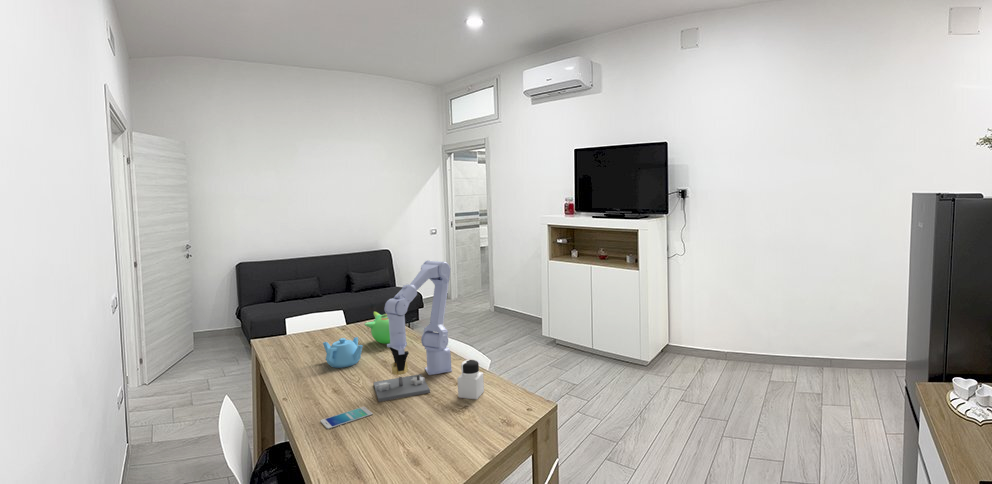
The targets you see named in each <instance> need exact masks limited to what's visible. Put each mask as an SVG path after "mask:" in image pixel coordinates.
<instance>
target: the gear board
mask: <svg viewBox="0 0 992 484" xmlns="http://www.w3.org/2000/svg"><path fill="white" fill-rule="evenodd" d="M373 387H374V390H375V394H376V397H377V400H378V403H380V402H385V401H391V400H396V399H397V400H398V399H401V398H408V397H413V396H418V395H423V394H425V395H426V394H429V393H431V389H430V387H429V385H428V383H427V382H426V378H425V377H423V375H422V374H420V373H419V374H413V375H408V376H399V377H396V378H389V379H384V380H383V379H382V380H377V381H373Z"/></svg>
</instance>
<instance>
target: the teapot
mask: <svg viewBox="0 0 992 484" xmlns="http://www.w3.org/2000/svg"><path fill="white" fill-rule="evenodd" d="M322 345H323V348H324V350H325V353H326V355H325V356H326V357H325V361H326V362H327V364H328V365H329V366H330V367H332V368H335V369H337V368H338V369H339V368H340V369H341V368H343V369H344V368H348V367H351V366H355V365H356V364H358V362H359V361H360V360H361V357H362V356H361V355H362V352H363V351H362V350H363V346H364V345H362V344H359V337H358V336H357V337H353V340H351V339H347V338H345V337H341V338H339V339H338V340H337V341H334V342H333V343H332V344H331V345H330V343H329V341H324V342H322Z"/></svg>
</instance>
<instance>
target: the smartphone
mask: <svg viewBox="0 0 992 484" xmlns="http://www.w3.org/2000/svg"><path fill="white" fill-rule="evenodd" d="M370 416H373V412H372V411H370V410H369V409H368V408H367V407H366V406H361V407H357V408H355V409H354V408H353V409H351V410H348V411H344V412H341V413H339V414H336V415H332V416H329V417H325V418H323V419H320V422H321V423H322V424H323V425H324V426H325V427H326V428H325V427H324V426H323V425H322V424H321V423H320V424H321V425H322V426H323V427H324V428H325V429H326V430H327V429H329V430H331V428H332V429H334V427H335V428H338V426H339V427H341V426H340V425H342V426H344V425H347V424H349V423H353V422H356V421H359V420H362V419H364V417H365V418H368V417H370ZM361 418H362V419H361ZM346 423H347V424H346Z"/></svg>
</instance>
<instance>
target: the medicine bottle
mask: <svg viewBox="0 0 992 484" xmlns="http://www.w3.org/2000/svg"><path fill="white" fill-rule="evenodd" d="M479 366H480V364H479V361H477V360H475V359H467V360H463V361H462V362H461V364H460V367H461V374H460V375H459V376H457V378H456V379H457V380H456V381H457V395H458V399H459V398H460V399H469V400H478V399H479V398H480V397H481V395H482V394H483V393H484V392H485V385H484V384H485V382H484V372H482V371H480V368H479Z"/></svg>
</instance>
